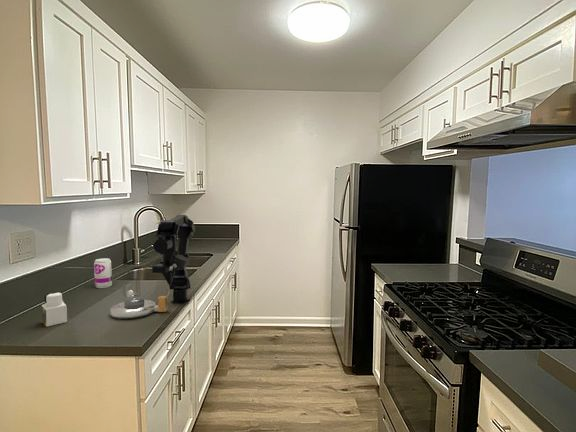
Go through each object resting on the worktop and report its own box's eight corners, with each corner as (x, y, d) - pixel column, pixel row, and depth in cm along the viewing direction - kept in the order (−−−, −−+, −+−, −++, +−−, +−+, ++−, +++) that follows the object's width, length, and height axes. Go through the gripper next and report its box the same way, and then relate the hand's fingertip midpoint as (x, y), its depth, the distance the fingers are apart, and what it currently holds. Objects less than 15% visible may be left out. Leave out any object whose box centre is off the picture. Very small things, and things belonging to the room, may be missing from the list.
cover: (120, 307, 149) (119, 299, 149) (134, 302, 157) (134, 294, 156) (134, 310, 146) (133, 301, 146) (148, 304, 154) (148, 296, 153)
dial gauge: (132, 301, 166) (132, 287, 166) (139, 302, 165) (138, 288, 164) (126, 303, 163) (126, 289, 162) (133, 304, 161) (132, 290, 161)
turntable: (102, 318, 142) (101, 304, 141) (121, 304, 160) (121, 291, 159) (159, 318, 143) (159, 303, 142) (172, 303, 161) (172, 290, 160)
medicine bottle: (42, 322, 140) (40, 292, 139) (63, 317, 145) (61, 289, 144) (46, 327, 135) (44, 296, 134) (67, 322, 140) (66, 292, 139)
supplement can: (104, 289, 186) (103, 261, 185) (91, 288, 188) (90, 260, 187) (115, 285, 194) (114, 258, 193) (102, 284, 196) (101, 257, 195)
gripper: (175, 253, 140) (176, 291, 141) (196, 246, 158) (196, 279, 160) (150, 252, 142) (151, 290, 143) (173, 245, 160) (174, 278, 162)
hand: (170, 284), depth 152 cm, fingers closed
